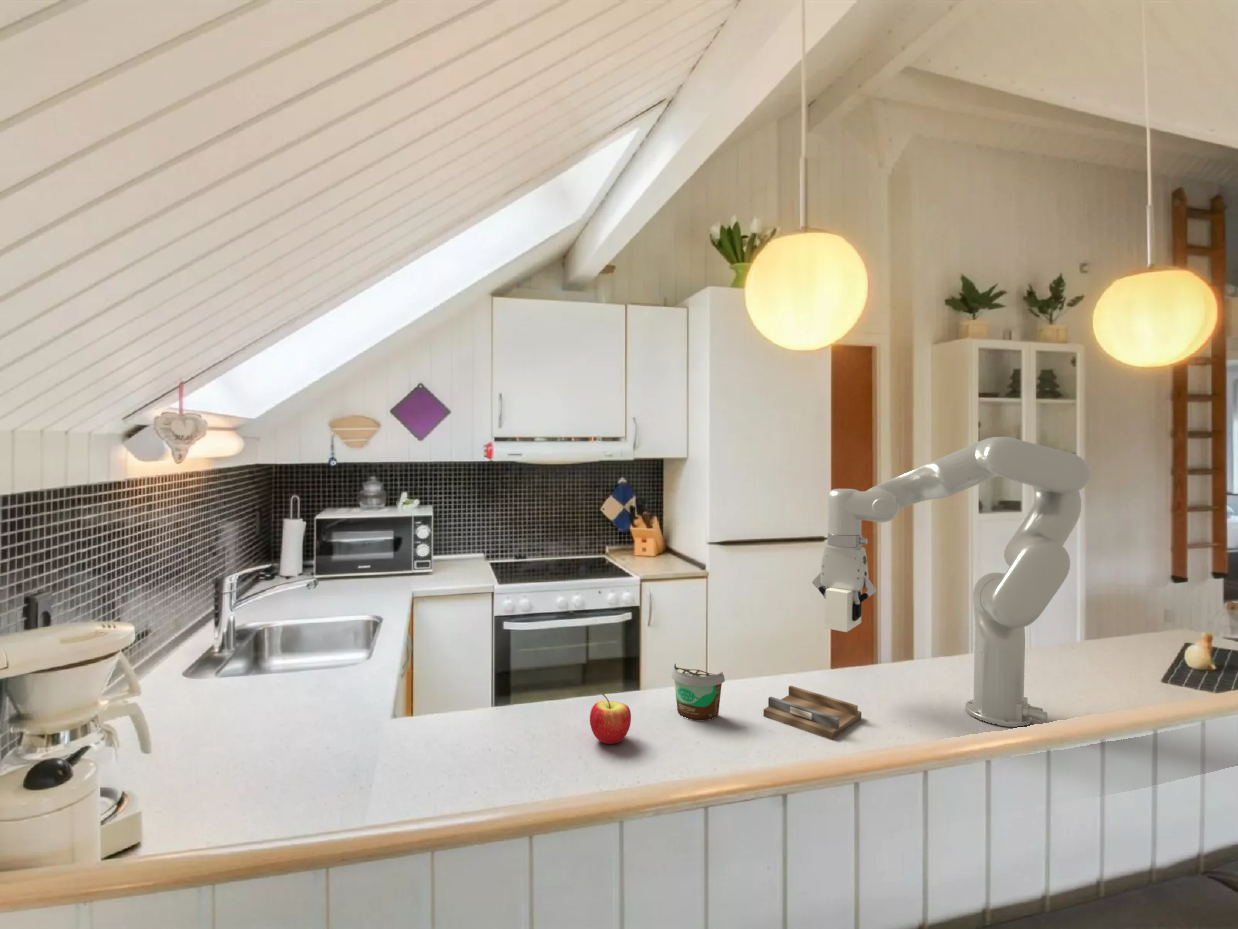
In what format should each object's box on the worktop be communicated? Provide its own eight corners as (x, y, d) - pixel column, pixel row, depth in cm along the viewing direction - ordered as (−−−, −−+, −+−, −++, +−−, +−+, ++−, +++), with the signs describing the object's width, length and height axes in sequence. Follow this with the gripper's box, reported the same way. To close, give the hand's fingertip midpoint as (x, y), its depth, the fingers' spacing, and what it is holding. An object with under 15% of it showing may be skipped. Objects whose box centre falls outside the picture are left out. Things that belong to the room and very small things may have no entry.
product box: (861, 622, 150) (861, 585, 149) (846, 632, 142) (847, 593, 142) (839, 618, 153) (840, 582, 153) (824, 627, 145) (824, 589, 145)
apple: (584, 735, 129) (584, 687, 128) (622, 728, 132) (622, 682, 131) (597, 753, 121) (597, 702, 121) (637, 746, 124) (637, 696, 124)
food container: (662, 716, 138) (662, 671, 138) (673, 705, 143) (673, 662, 143) (715, 727, 132) (715, 681, 132) (724, 716, 138) (725, 671, 137)
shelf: (861, 718, 137) (861, 702, 137) (832, 740, 127) (832, 723, 127) (794, 697, 148) (795, 683, 148) (763, 716, 138) (763, 700, 138)
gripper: (886, 543, 144) (885, 620, 145) (815, 536, 155) (814, 608, 156) (876, 547, 139) (875, 627, 139) (803, 539, 149) (802, 614, 150)
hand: (843, 616), depth 147 cm, fingers closed on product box, 5 cm apart
